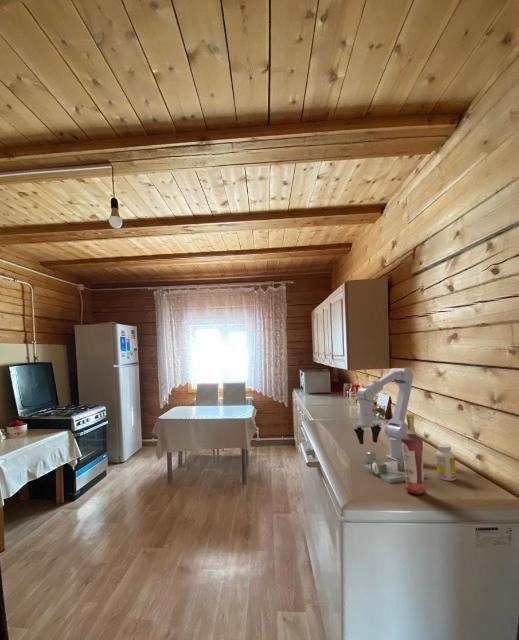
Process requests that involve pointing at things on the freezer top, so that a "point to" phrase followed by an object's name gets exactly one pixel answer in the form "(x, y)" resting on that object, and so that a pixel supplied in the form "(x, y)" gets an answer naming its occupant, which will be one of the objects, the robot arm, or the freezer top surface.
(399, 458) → the cylinder
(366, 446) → the freezer top surface
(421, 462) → the liquor
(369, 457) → the cylinder
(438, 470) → the supplement bottle
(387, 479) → the scale
